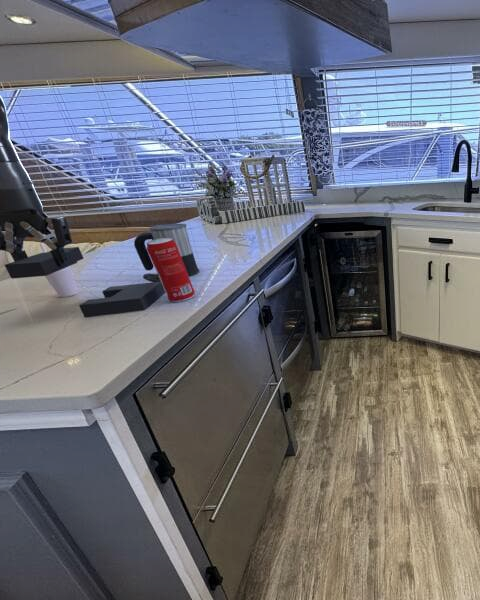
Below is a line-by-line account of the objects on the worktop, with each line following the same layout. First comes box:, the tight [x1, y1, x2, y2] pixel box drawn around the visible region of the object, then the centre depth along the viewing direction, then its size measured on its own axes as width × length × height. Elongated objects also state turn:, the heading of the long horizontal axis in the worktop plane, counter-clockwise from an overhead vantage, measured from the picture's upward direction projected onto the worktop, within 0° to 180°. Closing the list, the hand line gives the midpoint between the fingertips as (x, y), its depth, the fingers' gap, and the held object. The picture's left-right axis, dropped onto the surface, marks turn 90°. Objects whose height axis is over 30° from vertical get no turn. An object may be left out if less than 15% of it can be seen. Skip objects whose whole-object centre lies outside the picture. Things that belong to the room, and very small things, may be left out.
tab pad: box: [4, 246, 85, 280], centre depth 72 cm, size 14×6×3 cm, turn 14°
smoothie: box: [39, 243, 79, 298], centre depth 83 cm, size 6×6×14 cm
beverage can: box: [146, 238, 196, 303], centre depth 77 cm, size 6×6×15 cm
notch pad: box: [78, 281, 166, 318], centre depth 78 cm, size 12×12×3 cm
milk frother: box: [133, 223, 200, 283], centre depth 93 cm, size 14×16×15 cm
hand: (45, 266), depth 71 cm, fingers closed on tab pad, 6 cm apart
